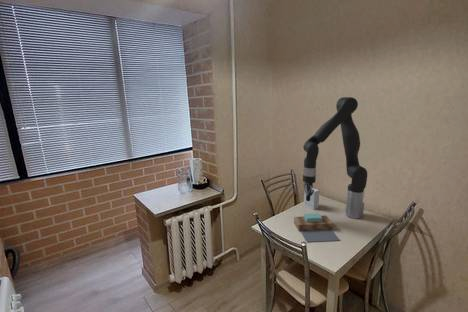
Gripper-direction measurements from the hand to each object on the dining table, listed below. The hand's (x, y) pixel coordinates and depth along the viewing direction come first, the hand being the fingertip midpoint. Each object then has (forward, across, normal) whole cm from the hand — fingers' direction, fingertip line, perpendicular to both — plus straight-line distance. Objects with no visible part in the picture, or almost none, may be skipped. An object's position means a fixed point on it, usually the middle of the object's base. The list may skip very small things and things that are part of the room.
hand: (307, 200), depth 155 cm
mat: (+12, -20, 0) cm, 24 cm away
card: (+8, -9, 0) cm, 12 cm away
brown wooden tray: (+12, -10, 0) cm, 16 cm away
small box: (+12, +16, -8) cm, 22 cm away
